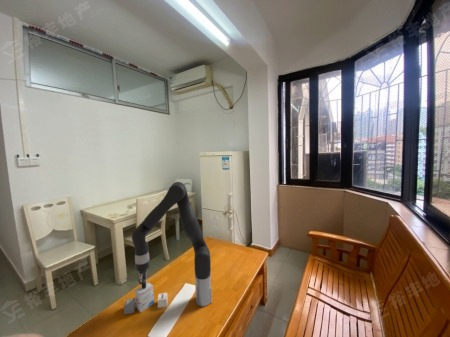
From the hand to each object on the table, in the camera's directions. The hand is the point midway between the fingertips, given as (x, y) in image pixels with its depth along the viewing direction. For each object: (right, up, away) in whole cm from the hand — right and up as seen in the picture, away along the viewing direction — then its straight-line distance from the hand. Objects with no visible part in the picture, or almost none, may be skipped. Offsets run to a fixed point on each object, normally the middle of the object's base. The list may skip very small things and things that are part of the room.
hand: (144, 287), depth 110 cm
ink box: (0, -12, +1) cm, 12 cm away
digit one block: (+10, -12, +3) cm, 16 cm away
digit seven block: (-7, -12, -1) cm, 14 cm away
